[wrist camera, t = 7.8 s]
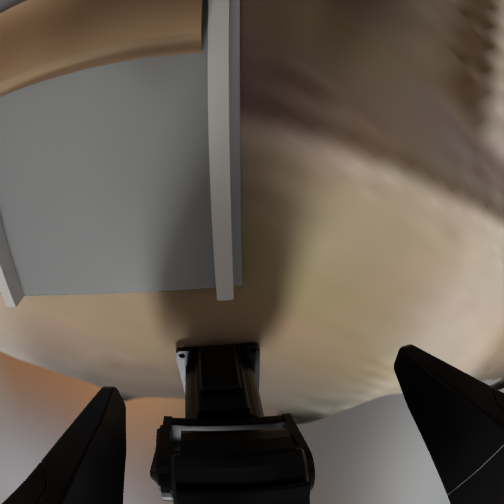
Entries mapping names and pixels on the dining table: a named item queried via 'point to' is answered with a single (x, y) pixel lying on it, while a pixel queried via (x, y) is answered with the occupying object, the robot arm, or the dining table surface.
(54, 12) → the walnut slider
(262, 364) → the dining table surface
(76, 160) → the rail plate
